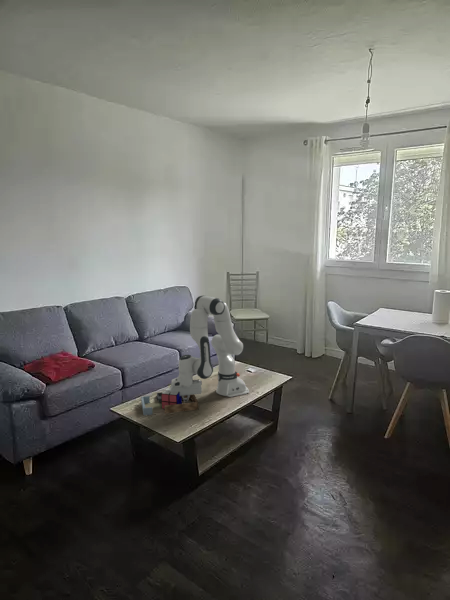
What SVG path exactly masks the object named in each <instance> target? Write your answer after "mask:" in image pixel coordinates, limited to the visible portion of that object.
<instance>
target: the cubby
mask: <svg viewBox="0 0 450 600" xmlns="http://www.w3.org/2000/svg"><path fill="white" fill-rule="evenodd" d="M181 397H182V396H181ZM187 397H188V396H187V395H184V398H187ZM161 398H162V397H161ZM190 399H191V401H192V402H183V403H182V404H174V405H165V409H164V414H171V413H181V412H189V411H197V410H199V407H200V406H199V401H198V399H197V397H196V394H194V395H190V397H189V399H188V400H190ZM182 400H183V398H182Z"/></svg>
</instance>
